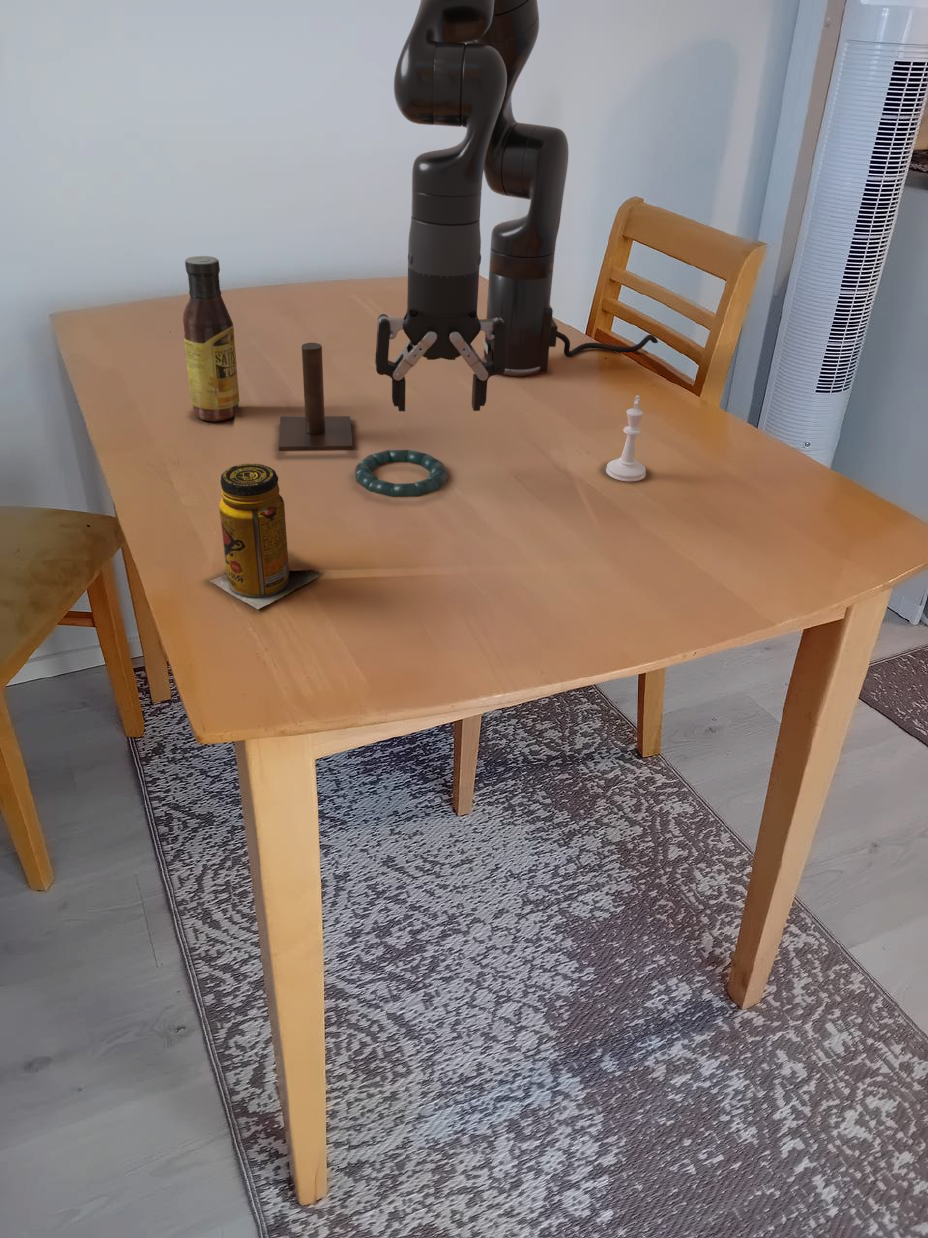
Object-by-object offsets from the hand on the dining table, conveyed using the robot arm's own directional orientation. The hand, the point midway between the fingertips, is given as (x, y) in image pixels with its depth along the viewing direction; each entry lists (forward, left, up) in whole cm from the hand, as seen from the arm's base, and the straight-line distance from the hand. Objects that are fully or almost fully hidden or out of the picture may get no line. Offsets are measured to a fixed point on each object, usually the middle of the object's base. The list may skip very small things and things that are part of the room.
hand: (438, 408), depth 111 cm
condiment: (+19, +20, -10) cm, 30 cm away
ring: (+4, 0, -8) cm, 9 cm away
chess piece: (-24, -2, -10) cm, 26 cm away
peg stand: (+14, -12, -9) cm, 21 cm away
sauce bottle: (+27, -21, -10) cm, 35 cm away
